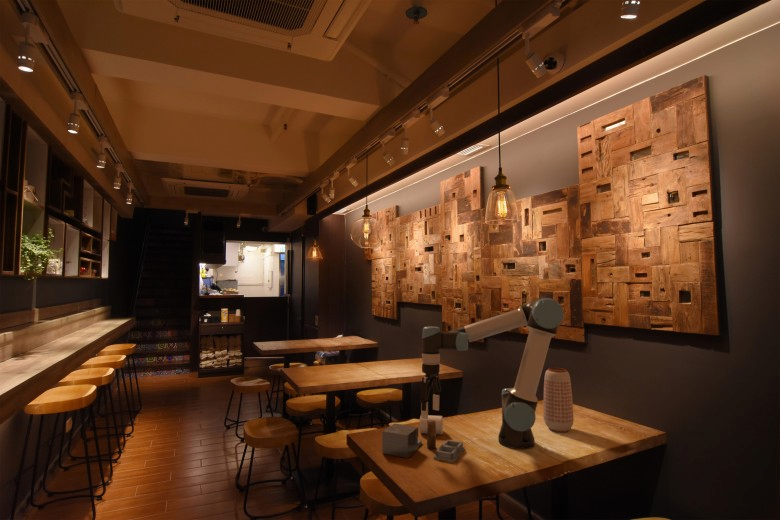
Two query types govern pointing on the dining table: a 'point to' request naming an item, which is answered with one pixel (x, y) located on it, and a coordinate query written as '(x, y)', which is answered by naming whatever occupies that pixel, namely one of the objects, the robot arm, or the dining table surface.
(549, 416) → the planter
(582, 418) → the dining table surface
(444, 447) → the socket board
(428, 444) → the peg
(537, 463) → the dining table surface
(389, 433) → the block
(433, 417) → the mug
